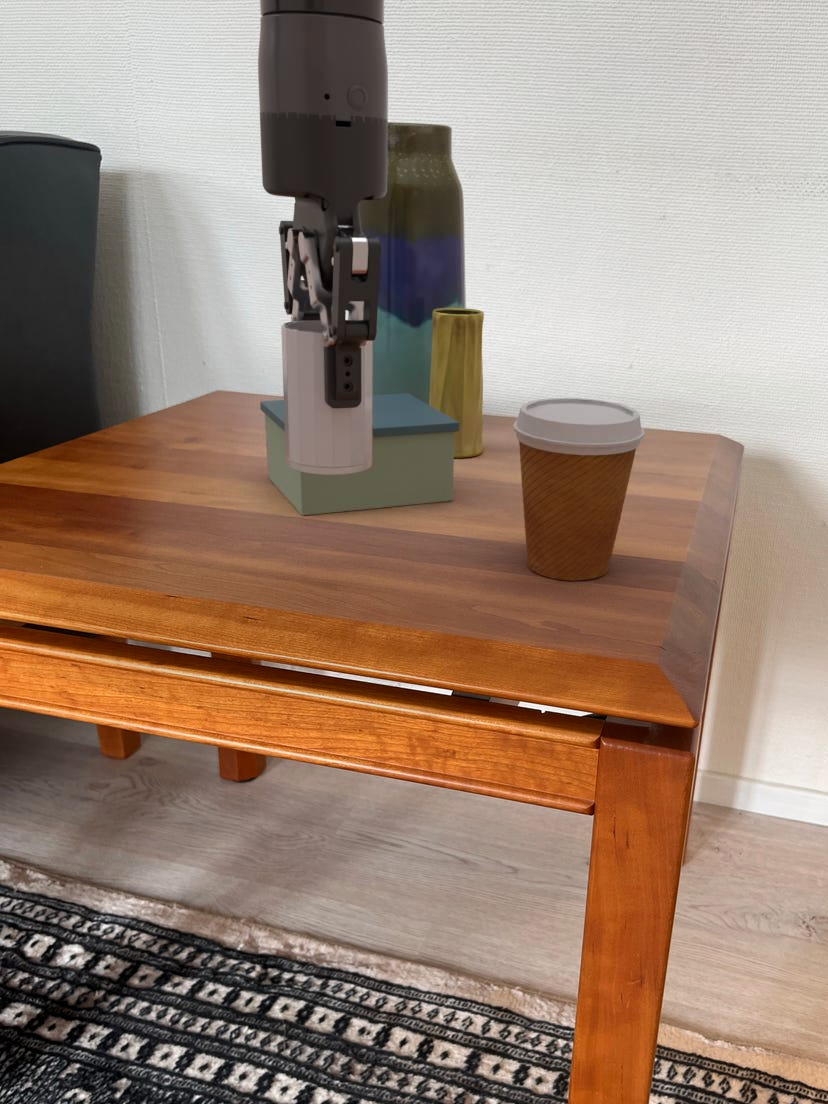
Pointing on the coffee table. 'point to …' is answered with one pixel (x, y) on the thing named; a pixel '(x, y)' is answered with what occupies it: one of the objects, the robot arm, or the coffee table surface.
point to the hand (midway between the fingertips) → (328, 395)
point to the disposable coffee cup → (574, 482)
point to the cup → (322, 407)
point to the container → (398, 460)
